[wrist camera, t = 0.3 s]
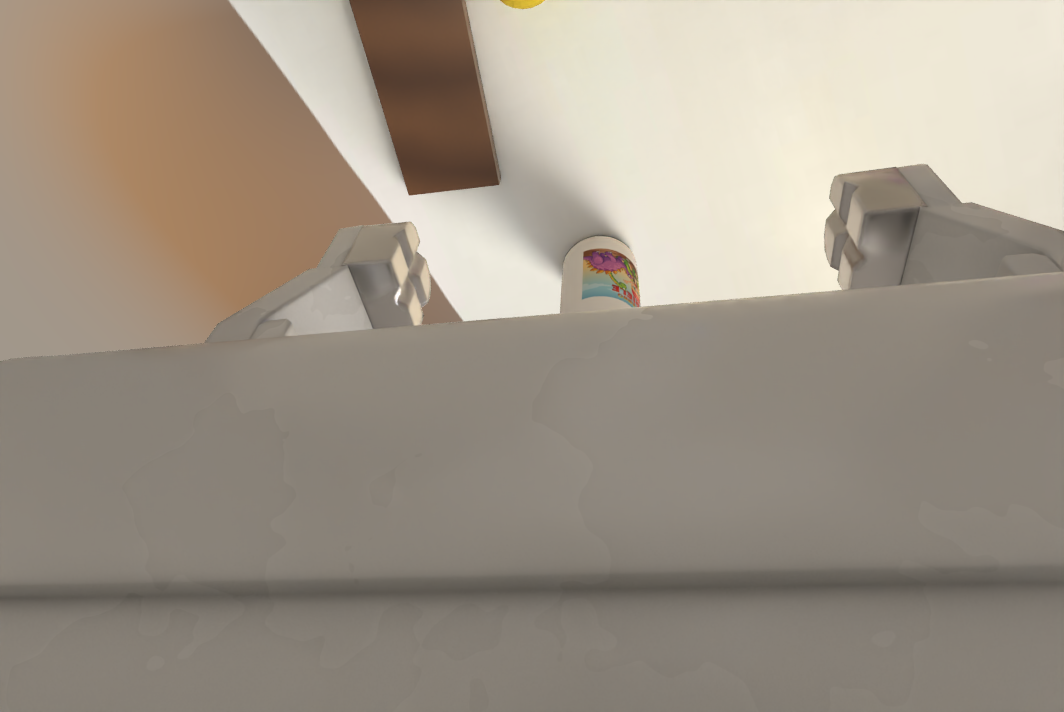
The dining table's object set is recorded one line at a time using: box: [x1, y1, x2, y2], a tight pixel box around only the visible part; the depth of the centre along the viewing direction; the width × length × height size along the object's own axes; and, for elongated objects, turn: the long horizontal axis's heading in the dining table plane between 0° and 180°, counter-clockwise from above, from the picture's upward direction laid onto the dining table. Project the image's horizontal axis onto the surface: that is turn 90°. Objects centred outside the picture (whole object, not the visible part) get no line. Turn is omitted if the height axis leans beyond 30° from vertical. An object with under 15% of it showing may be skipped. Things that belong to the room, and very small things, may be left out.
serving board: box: [349, 0, 501, 195], centre depth 56 cm, size 22×9×2 cm, turn 9°
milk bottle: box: [560, 236, 640, 314], centre depth 61 cm, size 8×8×20 cm
